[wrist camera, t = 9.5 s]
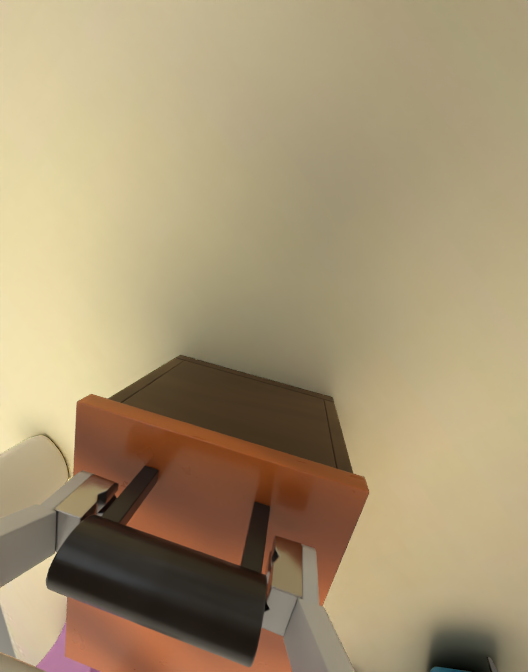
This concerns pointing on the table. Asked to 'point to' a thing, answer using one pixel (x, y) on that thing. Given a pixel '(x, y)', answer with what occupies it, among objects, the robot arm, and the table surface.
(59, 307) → the table surface
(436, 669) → the alarm clock
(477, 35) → the table surface
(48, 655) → the toy chair
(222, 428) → the chest
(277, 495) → the lid
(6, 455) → the eye dropper bottle
